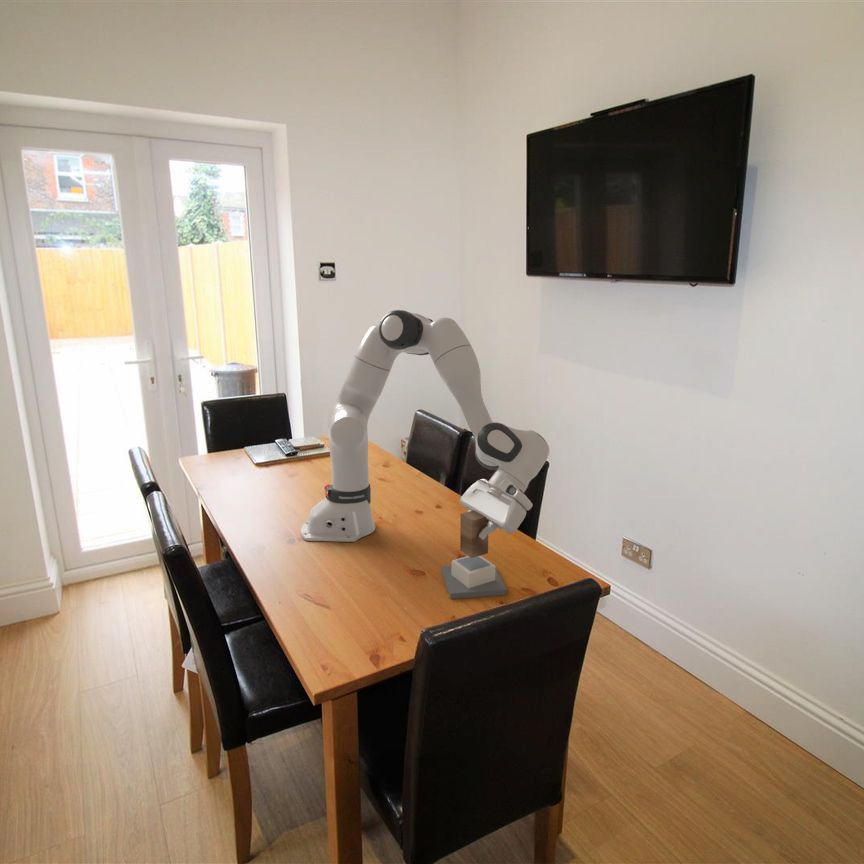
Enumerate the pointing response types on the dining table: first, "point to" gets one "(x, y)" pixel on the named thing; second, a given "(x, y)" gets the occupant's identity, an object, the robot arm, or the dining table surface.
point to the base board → (473, 591)
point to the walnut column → (473, 534)
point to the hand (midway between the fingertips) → (472, 532)
